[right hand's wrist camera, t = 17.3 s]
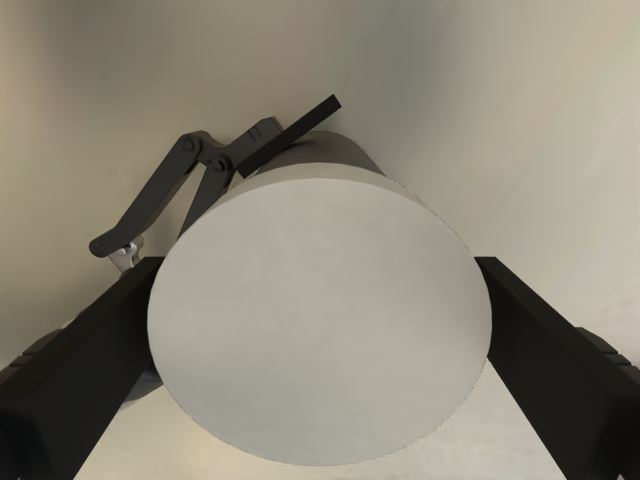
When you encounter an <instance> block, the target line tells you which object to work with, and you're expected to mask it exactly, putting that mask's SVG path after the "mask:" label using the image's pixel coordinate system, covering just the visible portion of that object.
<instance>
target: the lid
mask: <svg viewBox="0 0 640 480" xmlns="http://www.w3.org/2000/svg"><path fill="white" fill-rule="evenodd" d="M147 331H148V338H149V345H150V350H151V353H152V357H153V360H154V363H155V366H156V369H157V371H158V373H159V375H160V377H161V379H162V382H163V383H164V385H165V386H166V388H167V390H168V391H169V393H170V394H171V396H172V397H173V399H174V400H175V401H176V402H177V403H178V405H179V406H180V407H181V408H182V409H183V410H184V412H185V413H186V414H187V415H189V416H190V417H191V418H192V419H193V420H194V421H195V422H196V423H197V424H198V425H200V426H201V427H202V428H204V429H205V430H206V431H208V432H209V433H211V434H212V435H213V436H215V437H217V438H218V439H220V440H222V441H224V442H225V443H227V444H229V445H231V446H233V447H235V448H237V449H240V450H242V451H244V452H246V453H249V454H252V455H255V456H258V457H261V458H264V459H268V460H273V461H277V462H281V463H288V464H295V465H305V466H333V465H344V464H351V463H358V462H362V461H367V460H371V459H375V458H378V457H381V456H384V455H387V454H390V453H393V452H395V451H398V450H400V449H402V448H404V447H406V446H408V445H411V444H412V443H414V442H416V441H417V440H419V439H421V438H423V437H424V436H426V435H428V434H429V433H430V432H432V431H433V430H434V429H436V428H437V427H438V426H440V425H441V424H442V423H443V422H444V421H445V420H446V419H448V418H449V417H450V416H451V415H452V414H453V413H454V412H455V411H456V410H457V409H458V407H459V406H460V405H461V404H462V402H463V401H464V400H465V399H466V398H467V396H468V395H469V393H470V392H471V390H472V388H473V387H474V385H475V384H476V382H477V380H478V378H479V376H480V373H481V371H482V369H483V367H484V365H485V361H486V358H487V354H488V351H489V347H490V340H491V332H492V313H491V304H490V299H489V294H488V289H487V286H486V283H485V281H484V278H483V275H482V272H481V270H480V268H479V266H478V264H477V263H476V261H475V259H474V257H473V256H472V254H471V252H470V250H469V249H468V248H467V247H466V245H465V244H464V243H463V242H462V240H461V239H460V238H459V237H458V235H457V234H456V233H455V232H454V231H453V230H452V229H451V228H450V227H449V226H448V225H447V224H446V223H445V222H444V221H443V220H442V219H441V218H440V217H439V216H438V215H437V214H436V213H434V212H433V211H432V210H431V209H430V208H429V207H428V206H427V205H426V204H425V203H424V202H423V201H422V200H421V199H420V198H419V197H417V196H416V195H415V194H414V193H412V192H411V191H409V190H408V189H406V188H405V187H403V186H402V185H401V184H399V183H397V182H395V181H393V180H391V179H389V178H387V177H385V176H383V175H381V174H378V173H375V172H372V171H369V170H366V169H363V168H359V167H354V166H349V165H344V164H336V163H320V162H318V163H304V164H295V165H290V166H285V167H280V168H276V169H273V170H270V171H267V172H265V173H262V174H259V175H256V176H254V177H252V178H250V179H248V180H246V181H245V182H243V183H241V184H239V185H237V186H236V187H234V188H233V189H232V190H230V191H229V192H227V193H226V194H224V195H223V196H222V197H221V198H220V199H219V200H218V201H216V202H215V203H214V204H213V205H212V206H211V207H210V208H209V209H208V210H207V211H206V212H205V213H204V214H203V215H202V216H201V217H200V218H199V219H198V220H197V221H196V222H195V223H194V224H193V225H192V226H190V227H189V228H188V229H187V230H186V231H185V232H184V233H183V234H182V235H181V237H180V238H179V239H178V241H177V242H176V243H175V244H174V246H173V247H172V248H171V250H170V251H169V252H168V254H167V256H166V258H165V259H164V261H163V263H162V265H161V267H160V268H159V270H158V273H157V276H156V278H155V281H154V284H153V287H152V289H151V294H150V300H149V305H148V320H147Z"/></svg>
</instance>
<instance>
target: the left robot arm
mask: <svg viewBox="0 0 640 480" xmlns="http://www.w3.org/2000/svg"><path fill="white" fill-rule="evenodd" d="M341 107H342V106H341V105H340V103H339V102H338V100H337V98H336V97H335V95H334V94H332V95H331V96H330V97H328V98H327V99H326V100H324V101H323V102H322V103H320V104H319V105H318V106H316V107H315V108H314V109H312V110H311V111H310V112H308V113H307V114H306V115H304V116H303V117H302V118H300V119H299V120H298V121H296V122H295V123H294V124H292V125H291V126H290V127H288V128H287V129H286V130H284V129H283V128H282V126H281V125H280V124H279V122H278V121H277V119H276V118H275V116H273V117H269V118H265V119H262V120H261V121H259V122H258V123H257V124H255V125H254V126H253V127H251V128H250V129H249V130H248V131H246V132H245V133H244V134H242V135H241V136H240V137H239V138H237V139H236V140H235V141H233V142H232V143H231V144H229V145H224V144H221V143H219V142H217V141H216V140H214V139H213V138H212V137H211V136H210V134H209V133H207V132H206V131H201V130H200V131H196V132H192V133H188V134H184V135H182V136H181V137H180V138H179V139H178V141H177V142H176V143H175V145H174V146H173V147H172V149H171V150H170V152H169V153H168V154H167V156H166V157H165V159H164V160H163V161H162V163H161V164H160V165H159V167H158V168H157V170H156V171H155V172H154V174H153V175H152V176H151V178H150V179H149V181H148V182H147V183H146V185H145V186H144V188H143V189H142V190H141V192H140V193H139V194H138V196H137V197H136V199H135V200H134V201H133V203H132V204H131V206H130V207H129V208H128V210H127V211H126V212H125V214H124V215H123V217H122V218H121V219H120V221H119V222H118V224H117V225H116V226H115V227H114V228H112V229H110V230H109V231H107V232H105V233H104V234H102V235H101V236H99V237H97V238H96V239H94V240H92V241H91V242H90V244H89V250H90V251H91V253H92V254H93V255H94V256H96V257H99V258H103V257H106V256H108V257H109V258H110V259H111V261H112V262H113V263H114V264H115V265H116V267H117V268H118V269H119V270H120V271H121V273H122V275H121V276H120V278H121V277H123V276H124V275H125V274H126V273H127V272H128V271H129V270H130V269H132V268H133V267H134V266H135V265H136V264H137V263H138V262H139V261H140V259H139V256H138V253H139V251H140V250H141V249H142V247H143V245H144V242H143V240H144V237H143V236H142V235H141V234H142V233H143V232H144V231H146V230H147V229H148V228H149V227H150V226H151V225H152V224H153V223H154V222H155V220H156V219H157V218H158V216H159V215H160V214H161V212H162V211H163V210H164V208H165V207H166V206H167V204H168V203H169V202H170V201H171V199H172V198H173V197H174V195H175V194H176V193H177V191H178V190H179V189H180V187H181V186H182V185H183V183H184V182H185V181H186V179H187V178H188V177H189V176H190V174H191V173H192V172H193V170H194V169H195V168H196V166H197V165H198V164H199V162H201V163H202V164H204V165H205V166H207V168H206V171H205V173H204V176H203V178H202V180H201V183H200V185H199V188H198V190H197V192H196V195H195V197H194V200H193V202H192V205H191V207H190V209H189V212H188V214H187V217H186V219H185V221H184V224H183V226H182V229H181V231H180V234H179V236H178V238H177V241H178V239H179V238H180V237H181V235H182V234H183V233H184V232H185V231H186V230H187V229H188V228H189V227H190V226H192V225H193V224H194V223H195V222H196V221H197V220H198V219H199V218H200V217H201V216H202V215H203V214H204V213H205V212H206V211H207V210H208V209H209V208H210V207H211V206H212V205H213V204H214V203H215V202H216V201H218V200H219V199H220V198H221V197H222V196H223V195H224V194H226V192H227V190H228V188H229V186H230V183H231V181H232V179H233V177H234V174H235V172H236V170H237V171H238V172H239V173H240V174H241V176H242V177H243V178H246V177H247V176H249V175H250V174H251V173H253V172H254V171H255V170H257V169H258V168H259V167H261V166H262V165H263V164H265V163H266V162H268V161H269V160H270V159H272V158H273V157H274V156H276V155H277V154H278V153H280V152H281V151H282V150H284V149H285V148H287V147H288V146H289V145H291V144H292V143H293V142H295V141H296V140H297V139H299V138H300V137H301V136H303V135H304V134H306V133H307V132H308V131H310V130H311V129H312V128H314V127H315V126H316V125H318V124H319V123H320V122H322V121H323V120H325V119H326V118H327V117H329V116H330V115H331V114H333V113H334V112H335V111H337V110H338V109H340V108H341ZM177 241H176V242H177ZM89 306H90V305H89ZM89 306H88V307H89ZM88 307H87V308H88ZM87 308H85V309H87ZM85 309H84V310H85ZM84 310H83V311H84ZM83 311H81V312H80V313H79V314H78V315H77V316H74V317H73V318H71V319H70V320H69V321H67V322H66V323H65V324H63V325H62V326H60V327H59V328H65V327H66V326H67V325H69V324H70V323H71V322H72V321H73V320H74V319H75V318H76V317H78V316H79V315H80V314H81V313H82V312H83ZM59 328H58V329H59ZM56 330H57V329H56ZM6 367H9V365H8V366H6ZM3 369H4V368H3ZM3 369H2V370H3ZM2 370H1V371H2ZM1 371H0V372H1ZM162 385H164V383H163V382H162V379H161V377H160V375H159V373H158V371H157V369H156V366H155V363H154V360H153V358H152V359H151V361H150V362H149V364H148V366H147V367H146V369H145V370H144V372H143V373H142V375H141V376H140V378H139V379H138V381H137V382H136V384H135V385H134V387H133V389H132V390H131V392H130V393H129V395H128V396H127V398H126V399H125V401H124V402H123V404H122V405H121V407H120V408H119V410H118V411H117V413H118V412H120V411H122V410H123V409H125V408H127V407H129V406H130V405H132V404H133V403H135V402H136V401H137V400H138V399H140V398H142V397H144V396H146V395H147V394H149V393H151V392H152V391H154V390H155V389H157V388H159V387H160V386H162ZM17 480H23V479H22V477H21V476H20V477H19V478H18V479H17Z"/></svg>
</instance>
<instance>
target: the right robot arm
mask: <svg viewBox="0 0 640 480" xmlns="http://www.w3.org/2000/svg"><path fill="white" fill-rule="evenodd" d="M165 258H166V257H144V258H143V259H142V260H141V261H139V262H138V263H137V264H136V265H135V266H134V267H133V268H132V269H130V270H129V271H128V272H127V273H126V274H125V275H124V276H123V277H121V278H120V279H119V280H118V281H117V282H116V283H115V284H114V285H112V286H111V287H110V288H109V289H108V290H107V291H106V292H105V293H103V294H102V295H101V296H100V297H99V298H98V299H97V300H96V301H94V302H93V303H92V304H91V305H90V306H89V307H88V308H87V309H85V310H84V311H83V312H82V313H81V314H80V315H79V316H78V317H76V318H75V319H74V320H73V321H72V322H71V323H70V324H69V325H67V326H66V327H65V328H59V329H57V330H55V331H53V332H51V333H50V334H48V335H46V336H44V337H42V338H41V339H39V340H37V341H36V342H35V343H34V344H33V345H31V346H30V347H29V348H28V349H27V350H26V351H24V352H23V354H22V356H18V357H17V358H16V359H15V360H14V361H13V362H11V363H10V364H9V367H5V368H4V369H3V370H2V371H1V372H0V480H17V479H18V478H19V477H20V476H21V477H22V479H23V480H73V479H74V477H75V476H76V474H77V473H78V471H79V470H80V468H81V467H82V465H83V464H84V462H85V461H86V459H87V457H88V456H89V454H90V453H91V451H92V450H93V448H94V447H95V445H96V444H97V442H98V441H99V439H100V438H101V436H102V434H103V433H104V431H105V430H106V428H107V427H108V425H109V424H110V422H111V421H112V419H113V418H114V416H115V415H116V413H117V411H118V410H119V408H120V407H121V405H122V404H123V402H124V401H125V399H126V398H127V396H128V395H129V393H130V392H131V390H132V389H133V387H134V385H135V384H136V382H137V381H138V379H139V378H140V376H141V375H142V373H143V372H144V370H145V369H146V367H147V366H148V364H149V362H150V361H151V359H152V358H153V357H152V353H151V350H150V345H149V338H148V331H147V320H148V305H149V300H150V294H151V289H152V287H153V284H154V281H155V278H156V276H157V273H158V270H159V268H160V267H161V265H162V263H163V261H164V259H165ZM474 259H475V261H476V263H477V264H478V266H479V268H480V270H481V272H482V275H483V278H484V281H485V283H486V286H487V289H488V294H489V299H490V304H491V313H492V332H491V340H490V347H489V351H488V354H487V358H488V359H489V361H490V362H491V364H492V366H493V367H494V369H495V370H496V372H497V373H498V375H499V376H500V378H501V379H502V381H503V382H504V384H505V385H506V387H507V389H508V390H509V392H510V393H511V395H512V396H513V398H514V399H515V401H516V402H517V404H518V405H519V407H520V408H521V410H522V411H523V413H524V415H525V416H526V418H527V419H528V421H529V422H530V424H531V425H532V427H533V428H534V430H535V431H536V433H537V434H538V436H539V438H540V439H541V441H542V442H543V444H544V445H545V447H546V448H547V450H548V451H549V453H550V454H551V456H552V457H553V459H554V461H555V462H556V464H557V465H558V467H559V468H560V470H561V471H562V473H563V474H564V476H565V477H566V479H567V480H617V479H618V477H619V474H620V475H621V476H622V477H623V479H624V480H640V370H639V369H638V368H637V367H635V366H632V365H631V362H630V361H628V360H627V359H626V358H625V357H624V356H622V355H621V354H618V351H616V350H615V349H614V348H613V347H612V346H611V345H609V344H608V343H607V342H606V341H605V340H603V339H602V338H600V337H599V336H597V335H595V334H593V333H591V332H589V331H588V330H586V329H584V328H582V327H574V326H573V325H571V324H570V323H569V322H568V321H567V320H566V319H565V318H564V317H562V316H561V315H560V314H559V313H558V312H557V311H556V310H555V309H553V308H552V307H551V306H550V305H549V304H548V303H547V302H546V301H544V300H543V299H542V298H541V297H540V296H539V295H538V294H537V293H535V292H534V291H533V290H532V289H531V288H530V287H529V286H528V285H526V284H525V283H524V282H523V281H522V280H521V279H520V278H519V277H517V276H516V275H515V274H514V273H513V272H512V271H511V270H510V269H508V268H507V267H506V266H505V265H504V264H503V263H502V262H501V261H499V260H498V259H497V258H496V257H474Z"/></svg>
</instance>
